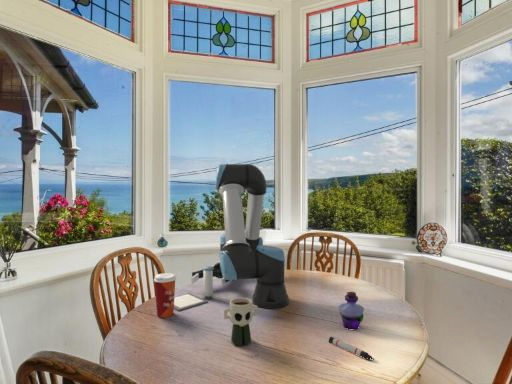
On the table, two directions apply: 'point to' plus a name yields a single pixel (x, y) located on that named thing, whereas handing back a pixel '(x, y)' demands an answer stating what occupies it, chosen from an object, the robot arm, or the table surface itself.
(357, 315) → the potion bottle
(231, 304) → the character mug
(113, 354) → the table surface
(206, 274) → the thick grey marker
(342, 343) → the marker
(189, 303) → the writing board
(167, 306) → the coffee cup
